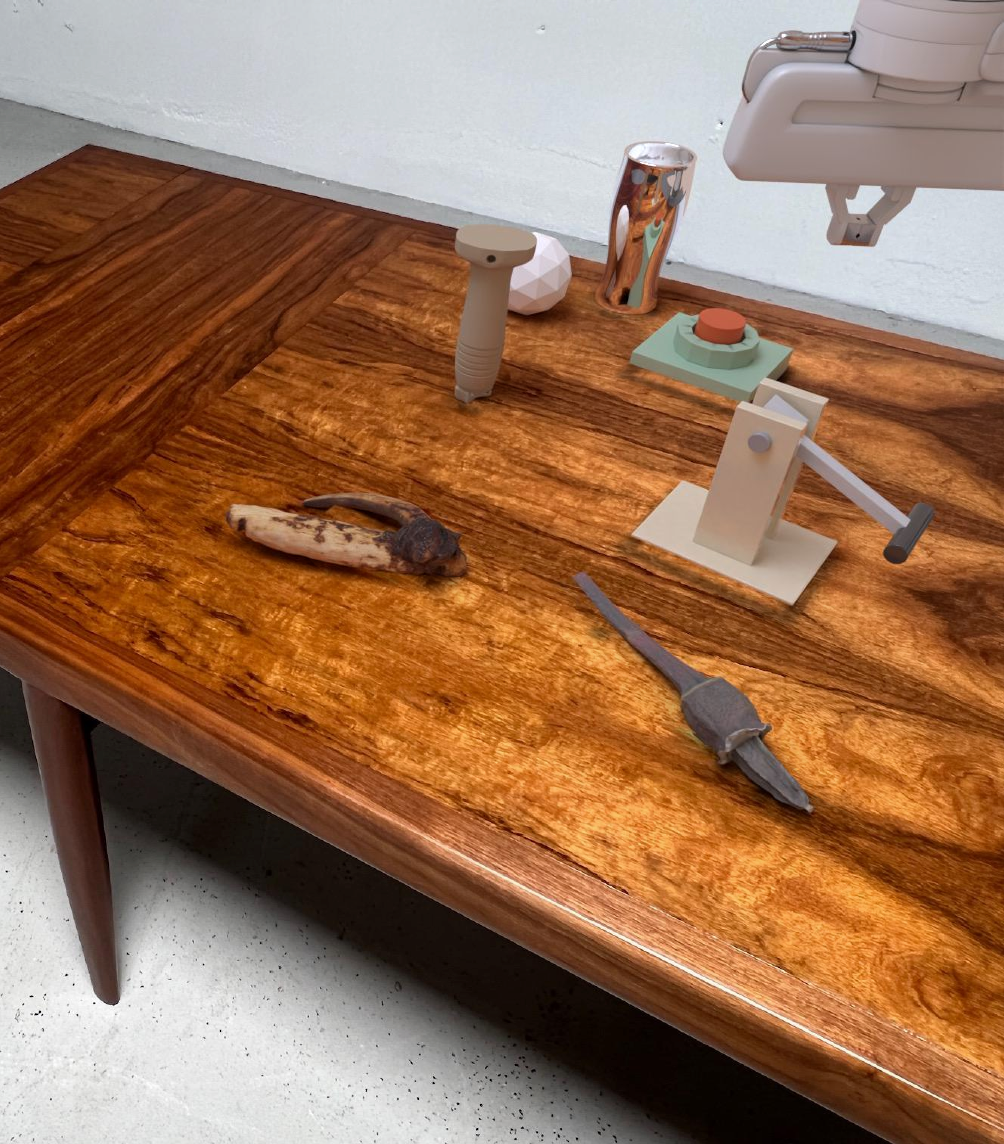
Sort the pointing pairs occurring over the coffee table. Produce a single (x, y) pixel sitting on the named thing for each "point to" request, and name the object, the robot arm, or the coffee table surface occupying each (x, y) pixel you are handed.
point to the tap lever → (862, 493)
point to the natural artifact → (710, 708)
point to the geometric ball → (540, 278)
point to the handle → (486, 302)
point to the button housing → (712, 359)
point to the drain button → (720, 326)
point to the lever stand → (749, 502)
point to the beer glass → (644, 223)
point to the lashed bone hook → (357, 535)
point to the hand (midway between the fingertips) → (849, 242)
